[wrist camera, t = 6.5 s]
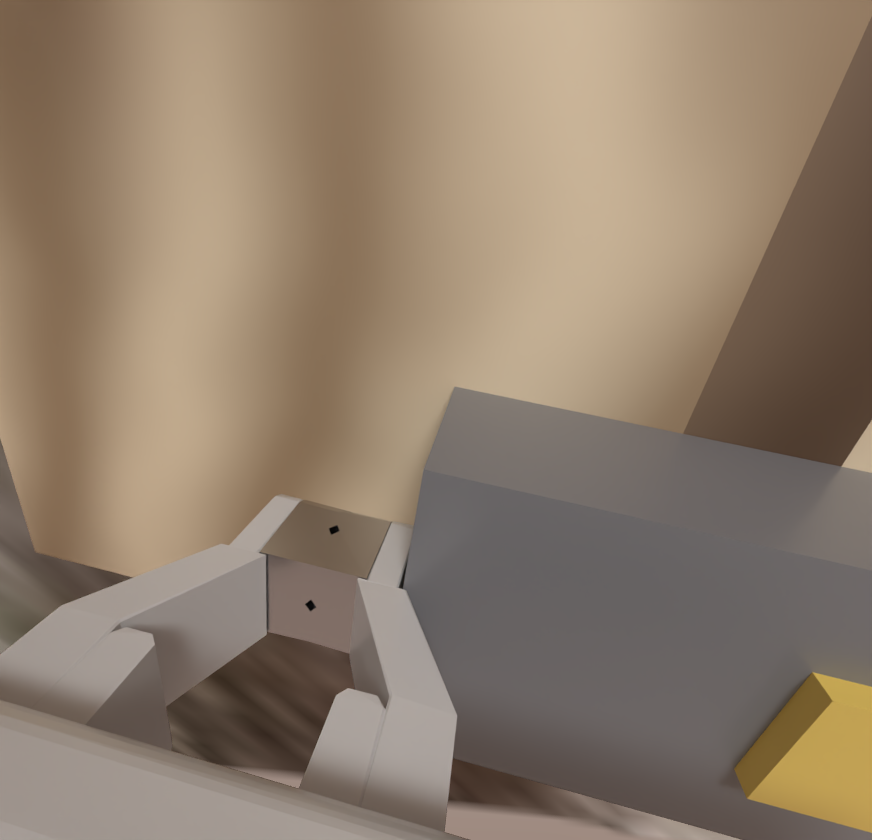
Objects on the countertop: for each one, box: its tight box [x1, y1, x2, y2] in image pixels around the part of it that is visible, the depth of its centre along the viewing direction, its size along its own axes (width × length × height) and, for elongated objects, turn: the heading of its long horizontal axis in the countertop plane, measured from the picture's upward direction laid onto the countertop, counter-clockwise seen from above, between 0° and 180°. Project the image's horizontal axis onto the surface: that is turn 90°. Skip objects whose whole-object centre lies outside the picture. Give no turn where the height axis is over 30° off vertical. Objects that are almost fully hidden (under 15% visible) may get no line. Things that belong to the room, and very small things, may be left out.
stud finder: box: [403, 387, 872, 840], centre depth 8 cm, size 10×6×4 cm, turn 80°
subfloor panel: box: [0, 0, 872, 578], centre depth 9 cm, size 26×16×1 cm, turn 81°
